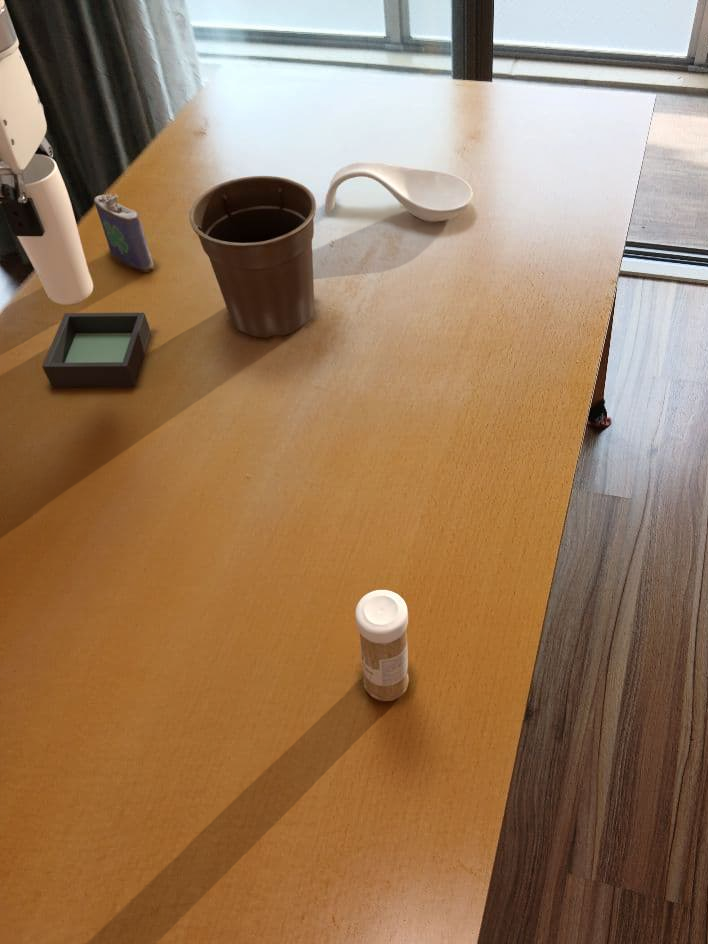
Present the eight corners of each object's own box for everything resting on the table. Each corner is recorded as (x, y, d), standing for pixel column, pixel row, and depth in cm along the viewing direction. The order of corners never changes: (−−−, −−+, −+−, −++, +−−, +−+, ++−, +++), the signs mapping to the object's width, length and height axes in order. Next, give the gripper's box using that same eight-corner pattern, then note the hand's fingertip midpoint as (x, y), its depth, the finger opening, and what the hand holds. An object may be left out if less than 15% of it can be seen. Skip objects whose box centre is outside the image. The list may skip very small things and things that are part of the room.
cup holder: (51, 387, 108) (41, 366, 105) (73, 333, 115) (64, 313, 112) (134, 386, 108) (127, 366, 105) (151, 332, 115) (144, 312, 112)
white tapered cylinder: (96, 310, 93) (50, 185, 82) (36, 312, 93) (-19, 188, 81) (105, 274, 98) (63, 151, 86) (48, 277, 97) (-3, 153, 85)
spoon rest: (473, 194, 135) (475, 151, 129) (470, 234, 128) (472, 190, 122) (332, 189, 137) (328, 147, 131) (321, 228, 130) (316, 186, 124)
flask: (158, 267, 124) (138, 201, 115) (142, 276, 123) (121, 210, 114) (120, 245, 128) (98, 180, 119) (105, 254, 126) (81, 188, 118)
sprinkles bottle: (357, 671, 82) (347, 597, 71) (399, 655, 83) (395, 580, 72) (373, 710, 79) (366, 639, 68) (416, 693, 80) (416, 621, 69)
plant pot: (192, 330, 115) (162, 225, 102) (252, 268, 123) (233, 164, 111) (291, 361, 110) (274, 256, 97) (347, 294, 119) (338, 190, 106)
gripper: (-37, -6, 79) (31, 172, 93) (-112, 74, 68) (-22, 261, 82) (39, -6, 78) (96, 173, 93) (-23, 75, 68) (52, 262, 82)
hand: (40, 213), depth 87 cm, fingers closed on white tapered cylinder, 6 cm apart
